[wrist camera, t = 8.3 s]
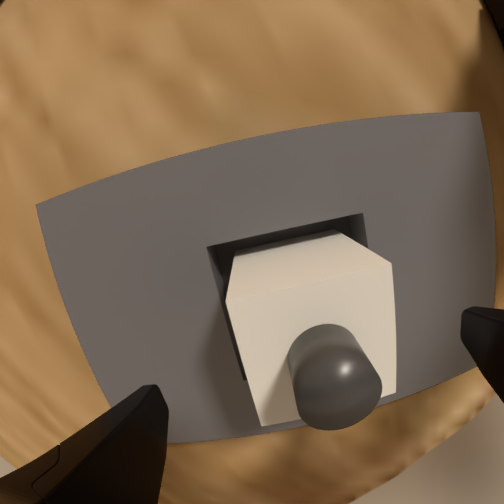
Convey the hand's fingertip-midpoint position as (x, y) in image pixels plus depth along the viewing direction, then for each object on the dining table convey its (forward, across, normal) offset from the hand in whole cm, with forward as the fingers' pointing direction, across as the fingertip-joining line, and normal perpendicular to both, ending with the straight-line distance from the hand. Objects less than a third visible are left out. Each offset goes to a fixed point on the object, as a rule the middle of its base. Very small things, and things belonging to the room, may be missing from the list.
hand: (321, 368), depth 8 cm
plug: (+6, 0, 0) cm, 7 cm away
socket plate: (+7, 0, 0) cm, 7 cm away
